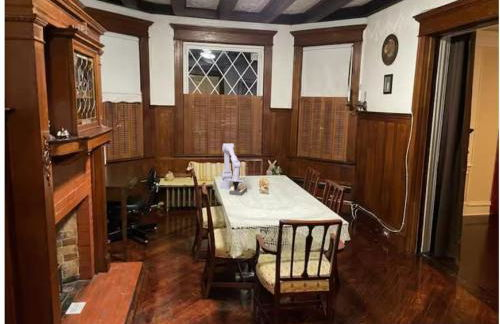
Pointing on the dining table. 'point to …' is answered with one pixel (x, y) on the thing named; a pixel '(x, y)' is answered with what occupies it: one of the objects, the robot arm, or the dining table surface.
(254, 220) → the dining table surface
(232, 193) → the switch bank
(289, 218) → the dining table surface
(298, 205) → the dining table surface
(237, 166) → the robot arm
